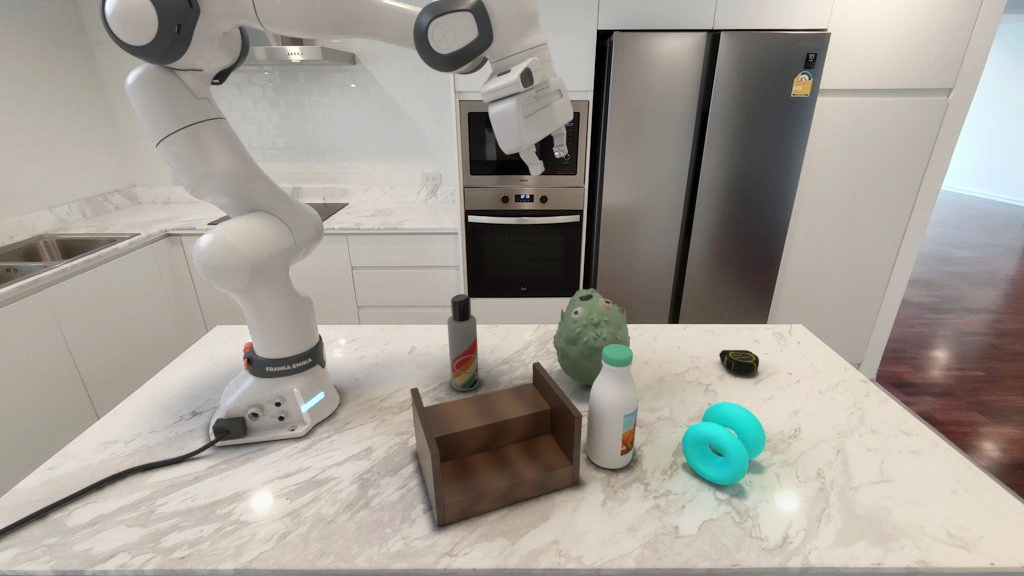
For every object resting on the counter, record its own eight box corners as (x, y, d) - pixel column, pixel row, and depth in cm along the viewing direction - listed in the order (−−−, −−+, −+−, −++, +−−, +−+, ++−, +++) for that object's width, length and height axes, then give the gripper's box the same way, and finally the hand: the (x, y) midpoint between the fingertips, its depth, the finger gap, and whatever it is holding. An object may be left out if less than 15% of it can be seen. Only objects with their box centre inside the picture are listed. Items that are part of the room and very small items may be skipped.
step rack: (437, 527, 68) (430, 454, 63) (417, 453, 81) (409, 388, 76) (578, 483, 75) (582, 414, 70) (538, 422, 89) (538, 361, 84)
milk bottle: (604, 477, 76) (613, 368, 68) (576, 447, 82) (582, 345, 75) (642, 460, 79) (654, 355, 72) (612, 433, 86) (621, 334, 78)
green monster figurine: (618, 356, 110) (625, 275, 102) (636, 406, 93) (646, 313, 85) (550, 356, 110) (552, 275, 103) (555, 406, 93) (557, 313, 85)
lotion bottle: (474, 393, 97) (470, 303, 90) (448, 390, 98) (441, 301, 91) (481, 377, 102) (478, 291, 95) (456, 375, 104) (451, 289, 96)
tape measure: (749, 362, 107) (752, 347, 106) (762, 379, 101) (765, 363, 99) (717, 361, 108) (720, 346, 106) (729, 378, 101) (731, 363, 100)
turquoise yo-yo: (762, 465, 78) (774, 415, 74) (737, 501, 71) (749, 447, 67) (702, 437, 84) (710, 389, 81) (675, 467, 78) (682, 416, 74)
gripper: (536, 70, 81) (558, 150, 86) (472, 93, 66) (504, 189, 71) (569, 58, 77) (590, 142, 83) (511, 80, 62) (541, 182, 68)
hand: (550, 164), depth 77 cm, fingers open, 8 cm apart
